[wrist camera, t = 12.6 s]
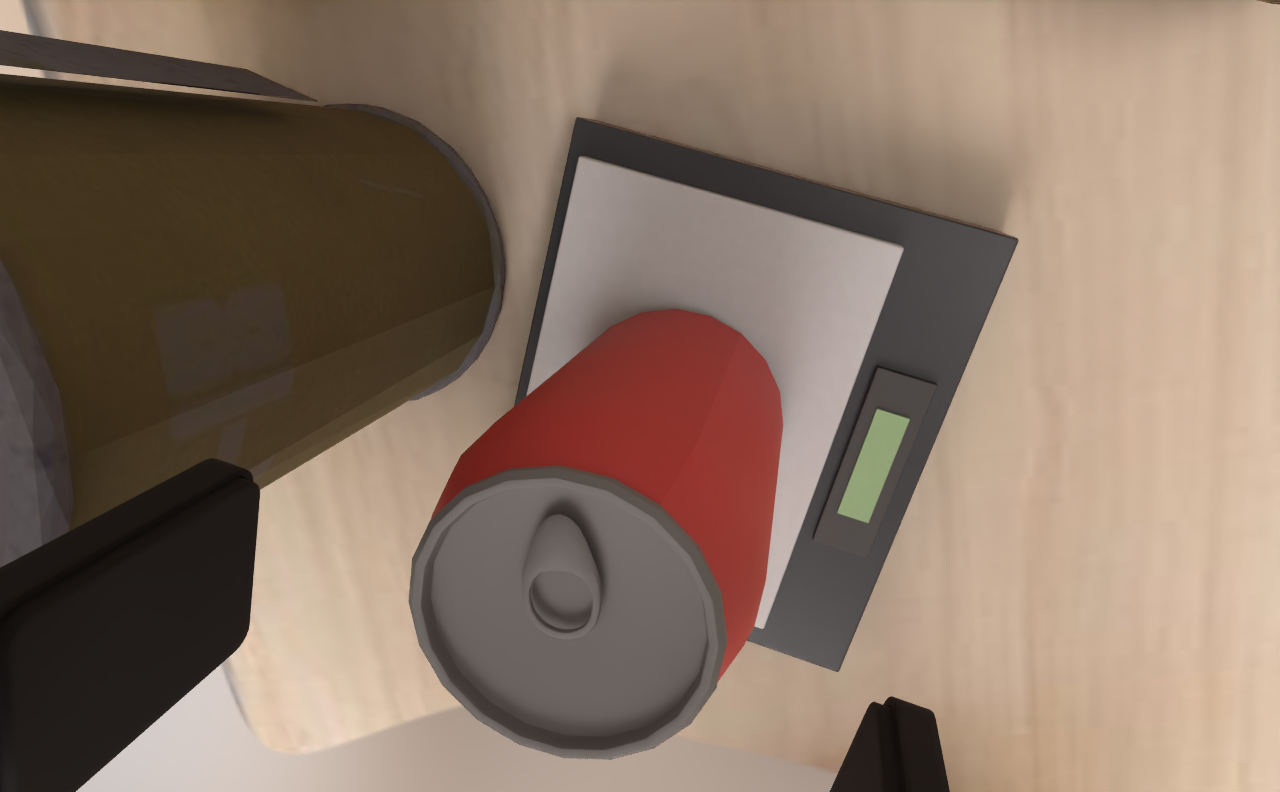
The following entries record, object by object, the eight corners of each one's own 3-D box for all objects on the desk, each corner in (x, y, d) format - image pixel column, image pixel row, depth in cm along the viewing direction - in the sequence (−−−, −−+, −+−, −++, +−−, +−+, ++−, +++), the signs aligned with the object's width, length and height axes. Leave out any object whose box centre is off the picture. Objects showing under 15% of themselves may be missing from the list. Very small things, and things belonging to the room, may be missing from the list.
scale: (593, 119, 25) (569, 115, 22) (1003, 232, 23) (1025, 241, 21) (503, 524, 30) (476, 556, 27) (836, 639, 28) (838, 684, 26)
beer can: (791, 310, 23) (770, 459, 11) (777, 517, 25) (747, 818, 13) (573, 299, 24) (361, 423, 13) (575, 497, 26) (393, 756, 15)
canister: (455, 445, 29) (-180, 953, 11) (214, 330, 30) (-776, 614, 11) (552, 165, 26) (-164, 181, 7) (273, 42, 26) (-1053, -245, 8)
